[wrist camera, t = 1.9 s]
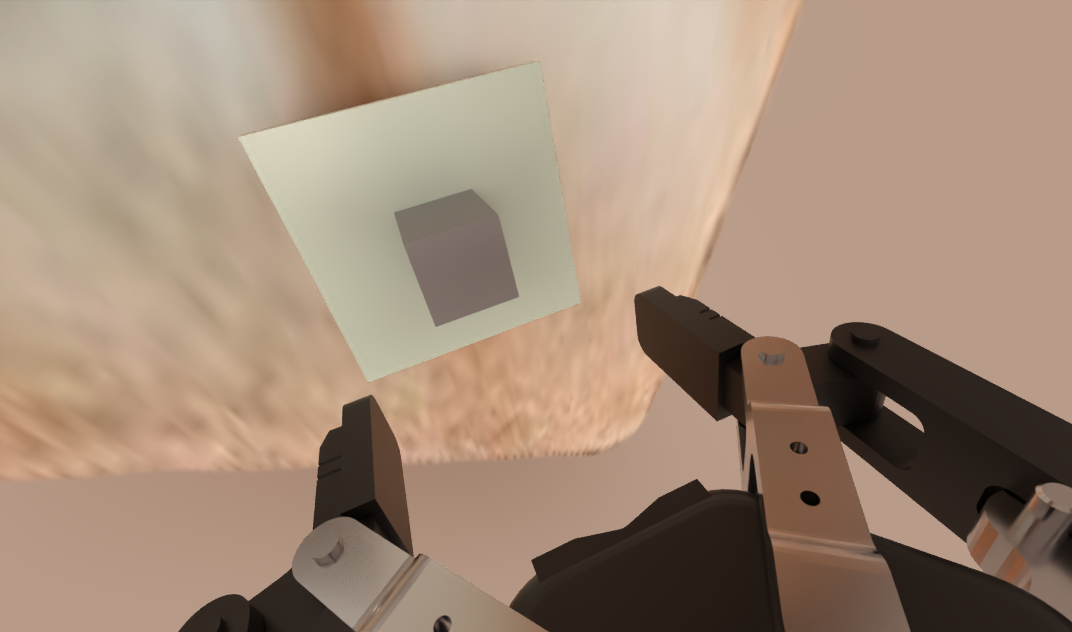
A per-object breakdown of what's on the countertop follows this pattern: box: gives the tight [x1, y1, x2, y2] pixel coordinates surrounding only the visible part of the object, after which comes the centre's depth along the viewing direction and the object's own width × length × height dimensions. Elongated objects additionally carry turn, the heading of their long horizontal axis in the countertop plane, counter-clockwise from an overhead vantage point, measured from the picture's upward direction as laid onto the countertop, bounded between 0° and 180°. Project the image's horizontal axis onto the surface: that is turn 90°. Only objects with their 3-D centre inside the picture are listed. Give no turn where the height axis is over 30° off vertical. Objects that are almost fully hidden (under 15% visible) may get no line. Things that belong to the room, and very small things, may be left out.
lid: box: [238, 61, 581, 382], centre depth 22 cm, size 14×14×7 cm
